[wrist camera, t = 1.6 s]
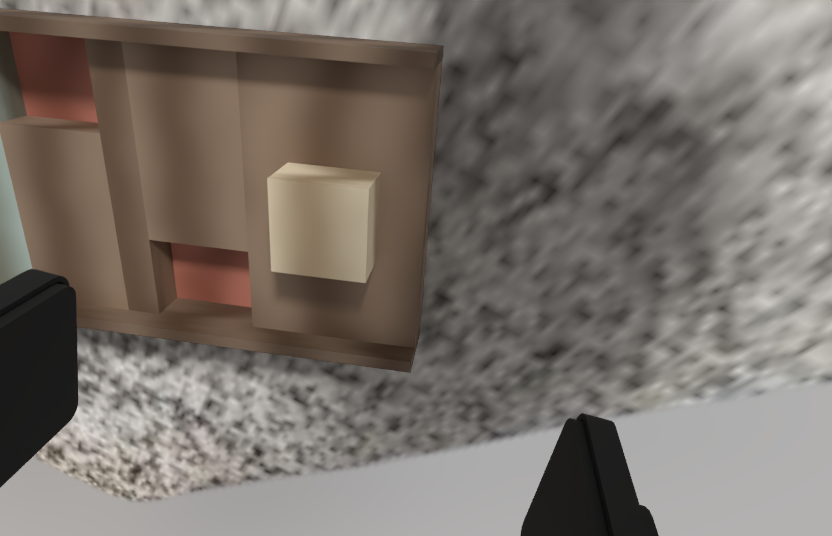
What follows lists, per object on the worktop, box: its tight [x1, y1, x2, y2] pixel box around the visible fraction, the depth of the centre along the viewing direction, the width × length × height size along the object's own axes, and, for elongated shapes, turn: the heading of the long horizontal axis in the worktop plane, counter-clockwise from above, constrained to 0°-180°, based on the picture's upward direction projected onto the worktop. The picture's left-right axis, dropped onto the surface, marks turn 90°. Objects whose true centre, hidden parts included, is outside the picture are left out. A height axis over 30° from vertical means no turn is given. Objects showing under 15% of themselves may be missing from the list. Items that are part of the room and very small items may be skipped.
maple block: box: [267, 163, 381, 283], centre depth 30 cm, size 5×5×3 cm
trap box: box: [0, 8, 443, 372], centre depth 33 cm, size 29×17×4 cm, turn 86°
